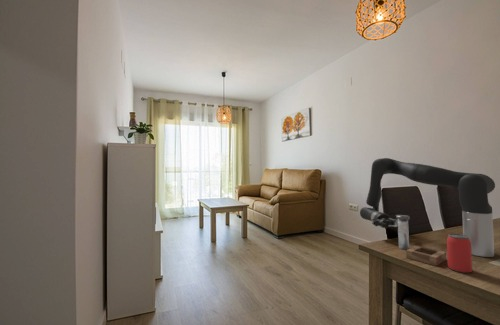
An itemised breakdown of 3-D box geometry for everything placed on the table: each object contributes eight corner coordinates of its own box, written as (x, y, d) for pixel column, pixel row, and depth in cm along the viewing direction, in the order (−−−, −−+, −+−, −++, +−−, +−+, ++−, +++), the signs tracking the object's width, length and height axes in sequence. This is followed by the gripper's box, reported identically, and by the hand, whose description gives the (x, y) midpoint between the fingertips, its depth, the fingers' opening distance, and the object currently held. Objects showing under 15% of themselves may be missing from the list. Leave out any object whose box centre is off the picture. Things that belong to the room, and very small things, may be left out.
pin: (400, 245, 111) (399, 214, 112) (412, 248, 107) (411, 216, 108) (394, 247, 109) (393, 215, 109) (407, 250, 104) (406, 217, 105)
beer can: (463, 274, 81) (462, 239, 81) (443, 267, 87) (441, 234, 87) (477, 272, 82) (475, 237, 83) (456, 264, 89) (455, 232, 89)
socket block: (417, 252, 102) (417, 245, 102) (446, 259, 94) (446, 252, 94) (406, 257, 96) (406, 250, 97) (436, 265, 88) (435, 257, 88)
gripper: (366, 212, 133) (379, 218, 117) (394, 212, 131) (410, 218, 115) (367, 225, 133) (379, 233, 117) (394, 226, 131) (410, 234, 115)
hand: (394, 226), depth 116 cm, fingers open, 8 cm apart
